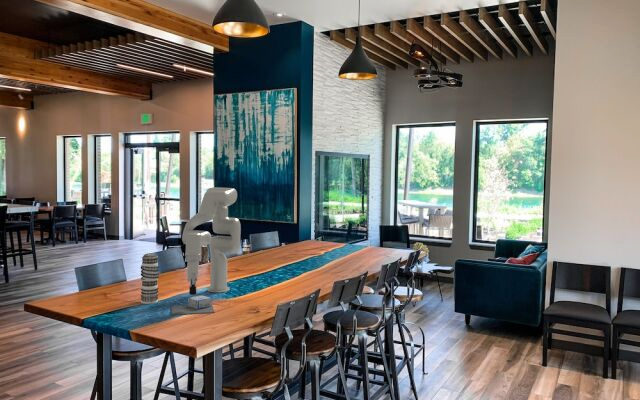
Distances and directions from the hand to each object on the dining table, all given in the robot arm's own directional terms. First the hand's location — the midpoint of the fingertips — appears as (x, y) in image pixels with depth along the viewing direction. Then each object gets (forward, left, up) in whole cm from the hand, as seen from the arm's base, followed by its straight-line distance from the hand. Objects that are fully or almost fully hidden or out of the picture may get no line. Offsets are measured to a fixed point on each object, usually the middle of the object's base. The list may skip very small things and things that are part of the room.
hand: (192, 294), depth 236 cm
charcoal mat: (+1, 0, -8) cm, 8 cm away
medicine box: (-7, +1, -5) cm, 9 cm away
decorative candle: (-19, -21, -8) cm, 29 cm away
